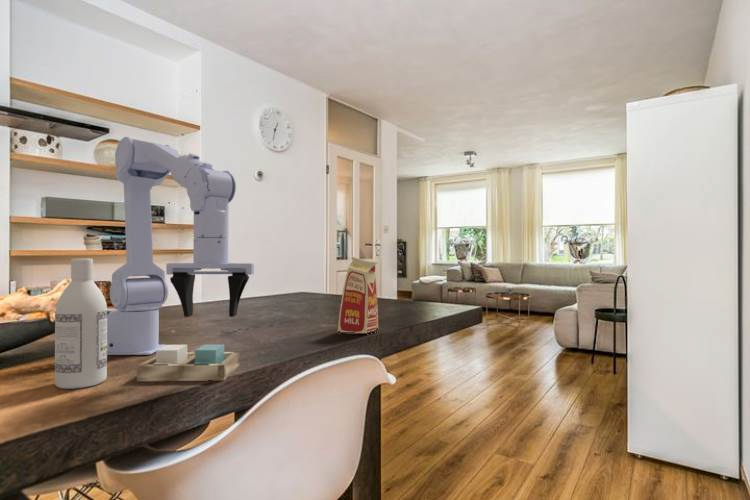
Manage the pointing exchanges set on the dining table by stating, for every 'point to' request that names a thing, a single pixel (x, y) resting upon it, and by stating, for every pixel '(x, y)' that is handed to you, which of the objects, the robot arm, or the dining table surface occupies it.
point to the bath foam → (80, 330)
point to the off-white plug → (172, 354)
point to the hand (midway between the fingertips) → (210, 316)
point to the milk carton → (359, 298)
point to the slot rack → (188, 369)
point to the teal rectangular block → (210, 354)
